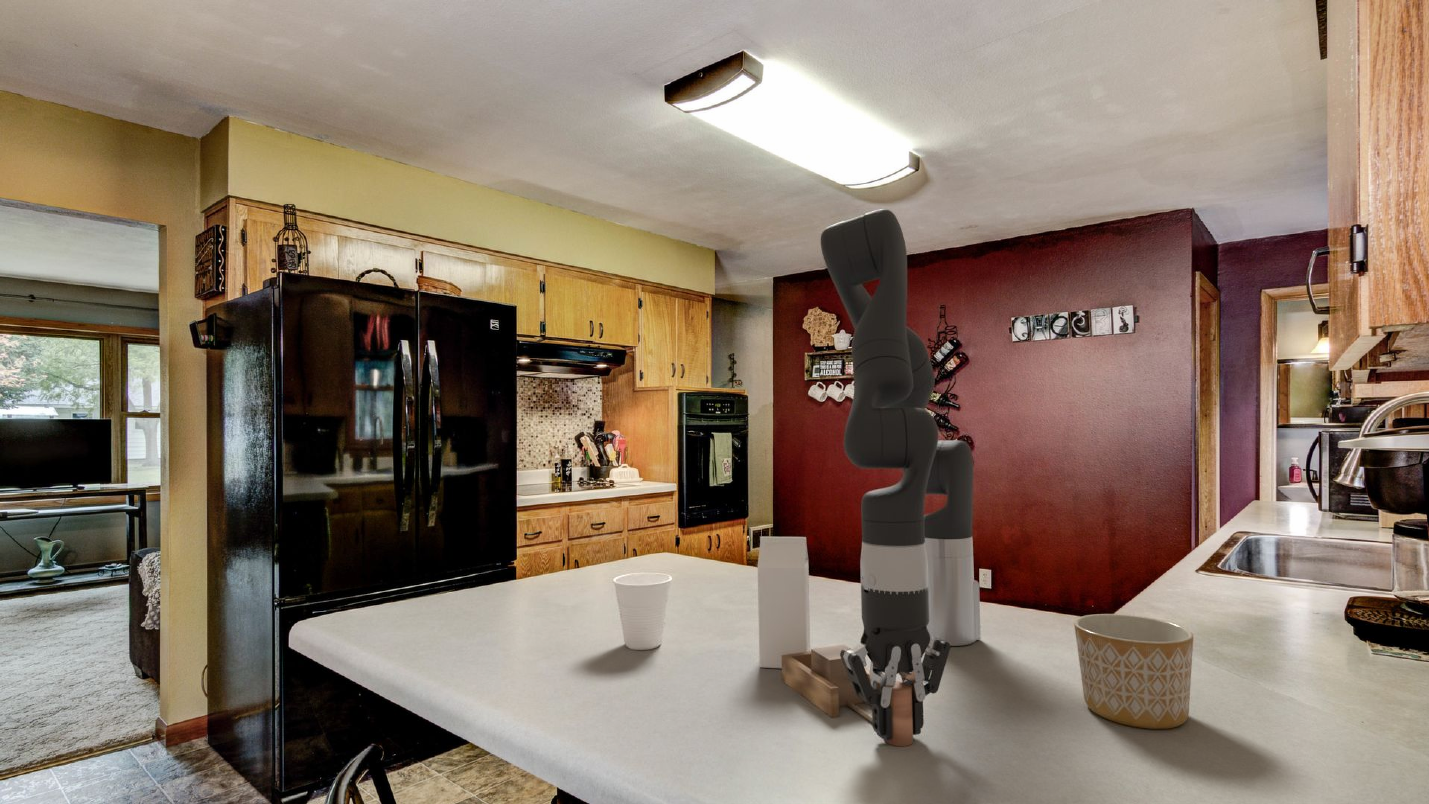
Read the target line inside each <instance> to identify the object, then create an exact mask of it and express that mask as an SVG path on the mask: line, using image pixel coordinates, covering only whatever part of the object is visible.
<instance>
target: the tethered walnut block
mask: <svg viewBox="0 0 1429 804" xmlns="http://www.w3.org/2000/svg"><path fill="white" fill-rule="evenodd" d="M843 649H847V650H851V649H852V648H851V647H849V646H847V645H845V644H838V645H832V646H831V645H830V646H823V647H822V646H821V647H817V648H810V651H811V667H812V671H814V672H815V673H817V674H818V675H820V676H821V677H823V678H825V679H826V680H828V681H829V682H831V683H832V684H834V685H835V686H837V687H838V703H839V708H840V707H845V706H848V707H849V708H850V709H852V710H854V711H855V712H856V713H858V714H859V715H861V716H862V717H864V718H865V719H866V720H868V721H869V722H870V723H872V722H873V721H872V714H869V712H867V711H865V710H864V709H863V708H860V707H859V706H858V705H857V704H862V703H865V702H866V701H865V700H863V699H862V698H859V697H858V696H857V695H856V694H855V691H854V689H853V686H852V684H851V681H850V679H849V676H848V674H847V672H846V669H845V667H844V664H843V662H842V659H841V657H840V653H841V651H842V650H843ZM889 706H890V707H892V739H891V740H886V741H885V743H887V744H889V745H891V746H892V745H893V746H895V747H906V746H907V747H908V746H910V745H913V743H914V735H913V719H912V687H911V685H909V684H907V683H904V682H902V681H897V680H896V682H895V686H894V687H892V691H891V699H890V704H889Z"/></svg>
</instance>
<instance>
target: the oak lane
mask: <svg viewBox="0 0 1429 804" xmlns="http://www.w3.org/2000/svg"><path fill="white" fill-rule="evenodd" d="M781 657H782V668H781V681H782V682H783V683H785V684H786V685H787V686H789V687H790V688H792V689H793V690H794V691H795V692H797V693H798V694H800V695H801V696H802V697H804V698H805V699H806V700H808V701H809V702H811V704H813V705H815V706H816V707H817V708H819V709H820V710H821V711H823V712H824V713H825V714H827V716H829V717H830V718H837V717H840V707H839V703H838V687H837V686H835V685H834V684H832V683H831V682H829V681H828V680H826V679H825V678H823V677H821V676H820V675H818V674H817V673H815V672H814V671H812V667H811V650H810V651H808V652H801V653H794V654H787V655H781ZM864 668H865V670H866V673H867V675H868V678H869V680H870V683H871V678H870V676H869V672H870V669H869V668H866V667H864Z"/></svg>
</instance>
